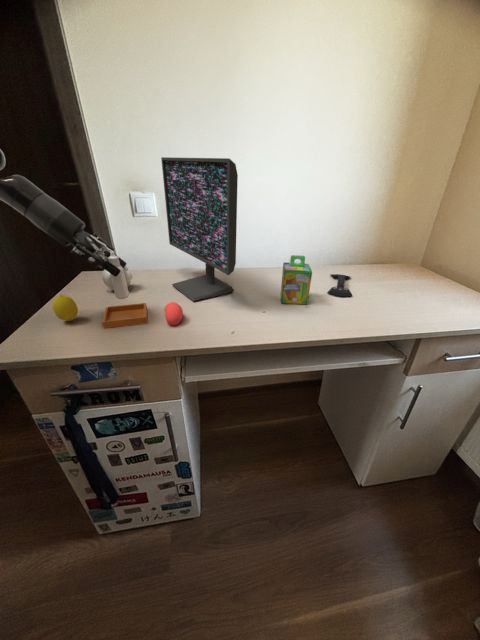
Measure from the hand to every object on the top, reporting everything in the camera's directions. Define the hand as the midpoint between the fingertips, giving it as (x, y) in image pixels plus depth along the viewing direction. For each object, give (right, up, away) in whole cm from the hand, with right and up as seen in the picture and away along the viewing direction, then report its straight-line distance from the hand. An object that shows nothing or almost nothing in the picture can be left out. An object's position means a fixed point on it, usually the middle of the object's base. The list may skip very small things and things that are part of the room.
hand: (121, 269), depth 75 cm
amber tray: (-2, -12, +8) cm, 14 cm away
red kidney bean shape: (+12, -13, +8) cm, 19 cm away
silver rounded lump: (-13, 0, +26) cm, 29 cm away
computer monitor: (+16, +1, +28) cm, 33 cm away
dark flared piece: (+69, +4, +37) cm, 78 cm away
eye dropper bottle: (-2, -6, +4) cm, 8 cm away
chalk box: (+49, -4, +24) cm, 54 cm away
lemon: (-17, -13, +5) cm, 22 cm away
